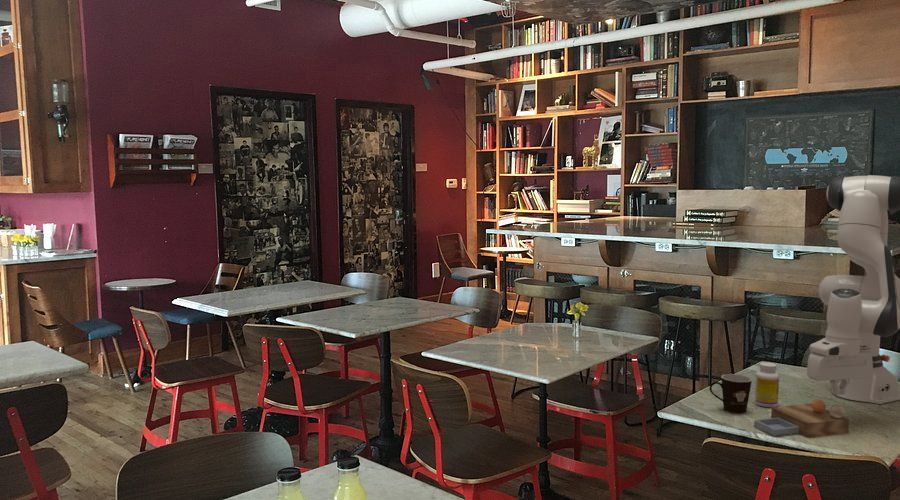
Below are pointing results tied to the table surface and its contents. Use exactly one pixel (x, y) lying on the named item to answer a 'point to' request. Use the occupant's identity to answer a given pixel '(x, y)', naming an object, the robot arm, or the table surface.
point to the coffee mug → (734, 392)
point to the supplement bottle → (767, 385)
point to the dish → (776, 427)
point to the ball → (818, 405)
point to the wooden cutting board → (811, 420)
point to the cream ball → (836, 411)
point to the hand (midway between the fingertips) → (838, 394)
